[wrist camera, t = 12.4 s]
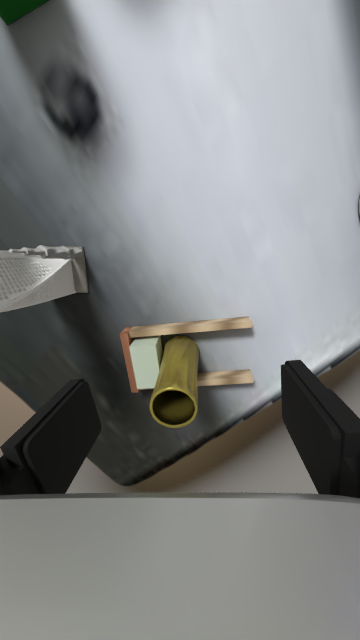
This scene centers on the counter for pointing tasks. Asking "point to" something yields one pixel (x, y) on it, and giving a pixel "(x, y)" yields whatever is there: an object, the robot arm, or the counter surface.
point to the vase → (176, 384)
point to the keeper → (146, 360)
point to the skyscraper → (40, 275)
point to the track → (189, 327)
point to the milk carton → (17, 8)
